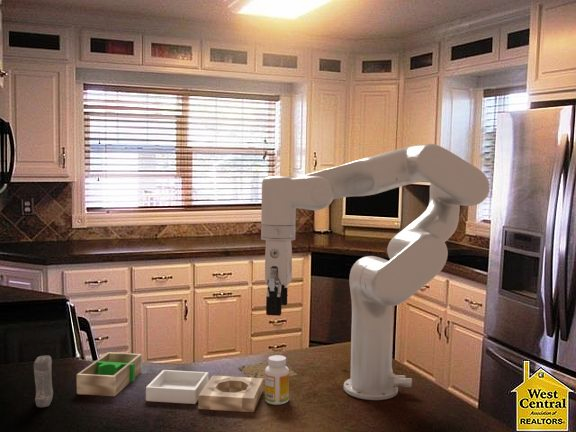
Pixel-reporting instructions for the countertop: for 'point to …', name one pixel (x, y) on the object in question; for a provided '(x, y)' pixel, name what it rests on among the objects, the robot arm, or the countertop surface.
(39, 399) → the stone
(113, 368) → the pipe clamp
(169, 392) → the tray
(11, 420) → the countertop surface
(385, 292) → the robot arm
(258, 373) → the speckled tile
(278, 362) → the supplement bottle
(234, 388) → the plate
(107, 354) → the parts corral
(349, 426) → the countertop surface
